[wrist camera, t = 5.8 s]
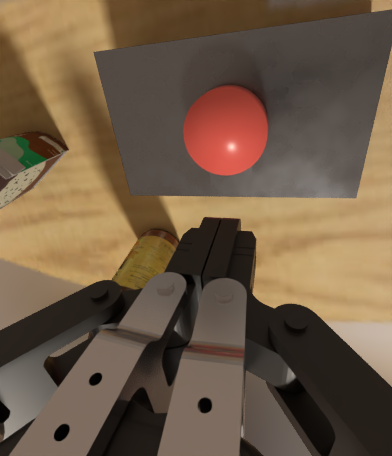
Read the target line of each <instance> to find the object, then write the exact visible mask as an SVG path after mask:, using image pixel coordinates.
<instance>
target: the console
mask: <svg viewBox="0 0 392 456" xmlns="http://www.w3.org/2000/svg"><path fill="white" fill-rule="evenodd" d="M391 46H392V10H385V11H378V12H371V13H364V14H357V15H350V16H343V17H336V18H329V19H322V20H315V21H308V22H301V23H294V24H287V25H280V26H273V27H266V28H259V29H252V30H245V31H238V32H231V33H224V34H217V35H210V36H203V37H196V38H189V39H182V40H175V41H168V42H161V43H154V44H147V45H140V46H133V47H126V48H119V49H112V50H105V51H98V52H94V56H95V60H96V64H97V68H98V71H99V75H100V79H101V83H102V87H103V90H104V94H105V98H106V102H107V106H108V110H109V113H110V117H111V121H112V125H113V129H114V132H115V136H116V140H117V144H118V148H119V152H120V155H121V159H122V163H123V167H124V171H125V174H126V178H127V182H128V186H129V190H130V194H131V195H151V196H227V197H302V198H356V197H357V192H358V188H359V184H360V179H361V175H362V171H363V167H364V162H365V158H366V154H367V149H368V145H369V141H370V136H371V132H372V128H373V124H374V119H375V115H376V111H377V106H378V102H379V98H380V94H381V89H382V85H383V81H384V76H385V72H386V68H387V64H388V59H389V55H390V51H391ZM223 85H237V86H241V87H244V88H246V89H248V90H250V91H251V92H253V93H254V94H255V95H256V96H257V97H258V98H259V99H260V101H261V102H262V104H263V105H264V107H265V110H266V113H267V116H268V135H267V142H266V146H265V148H264V151H263V153H262V155H261V156H260V158H259V159H258V160H257V161H256V163H255V164H254V165H252V166H251V167H250V168H248V169H247V170H245V171H243V172H241V173H238V174H234V175H217V174H214V173H211V172H208V171H206V170H205V169H203V168H201V167H200V166H199V165H198V164H197V163H196V162H195V161H194V160H193V159H192V158H191V156H190V154H189V153H188V150H187V148H186V145H185V142H184V135H183V129H184V122H185V118H186V115H187V113H188V111H189V109H190V108H191V106H192V105H193V104H194V103H195V101H196V100H198V99H199V98H200V97H201V96H203V95H204V94H205V93H207V92H208V91H210V90H211V89H213V88H215V87H219V86H223Z"/></svg>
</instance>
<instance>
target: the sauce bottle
mask: <svg viewBox="0 0 392 456" xmlns="http://www.w3.org/2000/svg"><path fill="white" fill-rule="evenodd" d="M178 244H179V243H178V241H177V240H176V239H175V237H174V236H172V235H171V234H169V233H168V232H165V231H162V230H149V231H147V232H145V233H144V234H143V235H142V236H141V238H140V239H138V241H137V242H136V243H135V245H134V246H133V248H132V249H131V251H130V253H129V254H128V256H127V257H126V259H125V260H124V262H123V263H122V265H121V266H120V268H119V269H118V271H117V272H116V274H115V275H114V277H113V278H112V280H111V281H115V282H117V283H118V284H119V285H120V287H121V290H122V291H127V290H135V289H141V288H144V286H145V285H146V283H147V282H148V281H149V280H150V279H151V278H152V277H154V276H156V275H158V274H161V273H164V271H165V269H166V267H167V265H168V263H169V261H170V259H171V258H172V256H173V254H174V252H175V251H176V248H177V246H178ZM92 336H93V335H92V333H91V331H90V332H89V336H88V339H89V338H91V337H92Z"/></svg>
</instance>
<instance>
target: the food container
mask: <svg viewBox="0 0 392 456" xmlns="http://www.w3.org/2000/svg"><path fill="white" fill-rule="evenodd" d="M68 150H69V149H68V148H67V147H66V146H65V145H63V144H62V143H61V142H60V141H58V140H57V139H55V138H53V137H52V136H50V135H48V134H44V133H41V132H27V133H23V134H19V135H15V136H11V137H7V138H3V139H0V209H1V208H3V207H4V206H6V205H8V204H9V203H11V202H12V201H14V200H16V199H17V198H19V197H20V196H22V195H23V194H25V193H27V192H28V191H30V190H31V189H33V188H34V187H35V186H36V185H37V184H38V183H39V182H40V181H41V180H42V179H43V178H44V177H45V175H46V174H47V173H48V172H49V171H50V170H51V169H52V168H53V167H54V166H55V165H56V163H57V162H58V161H59V160H60V159H61V158H62V157H63V156H64V155H65V154H66V153H67V151H68Z"/></svg>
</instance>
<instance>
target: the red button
mask: <svg viewBox="0 0 392 456" xmlns="http://www.w3.org/2000/svg"><path fill="white" fill-rule="evenodd" d="M183 135H184V142H185V145H186V148H187V150H188V153H189V154H190V156H191V158H192V159H193V160H194V161H195V162H196V163H197V164H198V165H199V166H200V167H201V168H203V169H205V170H206V171H208V172H211V173H214V174H217V175H234V174H238V173H241V172H243V171H245V170H247V169H248V168H250V167H251V166H252V165H254V164H255V163H256V161H257V160H258V159H259V158H260V156H261V155H262V153H263V151H264V148H265V146H266V142H267V135H268V116H267V113H266V110H265V107H264V105H263V104H262V102H261V101H260V99H259V98H258V97H257V96H256V95H255V94H254V93H253V92H251V91H250V90H248V89H246V88H244V87H241V86H237V85H223V86H219V87H215V88H213V89H211V90H210V91H208V92H207V93H205V94H204V95H203V96H201V97H200V98H199V99H198V100H196V101H195V103H194V104H193V105H192V106H191V108H190V109H189V111H188V113H187V115H186V118H185V122H184V129H183Z"/></svg>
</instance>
